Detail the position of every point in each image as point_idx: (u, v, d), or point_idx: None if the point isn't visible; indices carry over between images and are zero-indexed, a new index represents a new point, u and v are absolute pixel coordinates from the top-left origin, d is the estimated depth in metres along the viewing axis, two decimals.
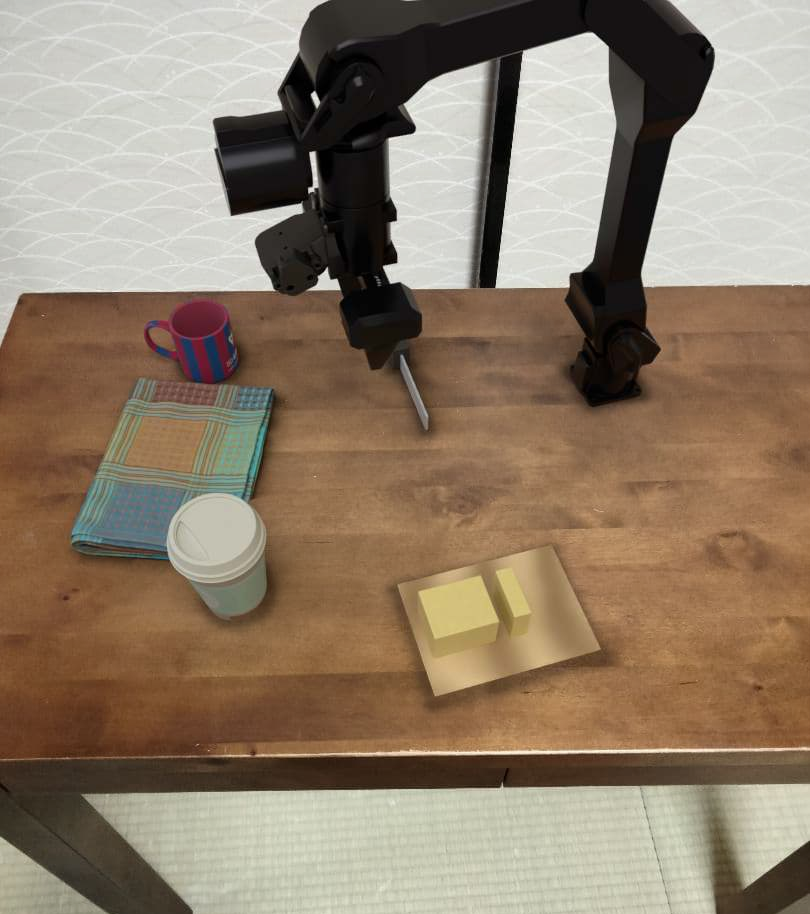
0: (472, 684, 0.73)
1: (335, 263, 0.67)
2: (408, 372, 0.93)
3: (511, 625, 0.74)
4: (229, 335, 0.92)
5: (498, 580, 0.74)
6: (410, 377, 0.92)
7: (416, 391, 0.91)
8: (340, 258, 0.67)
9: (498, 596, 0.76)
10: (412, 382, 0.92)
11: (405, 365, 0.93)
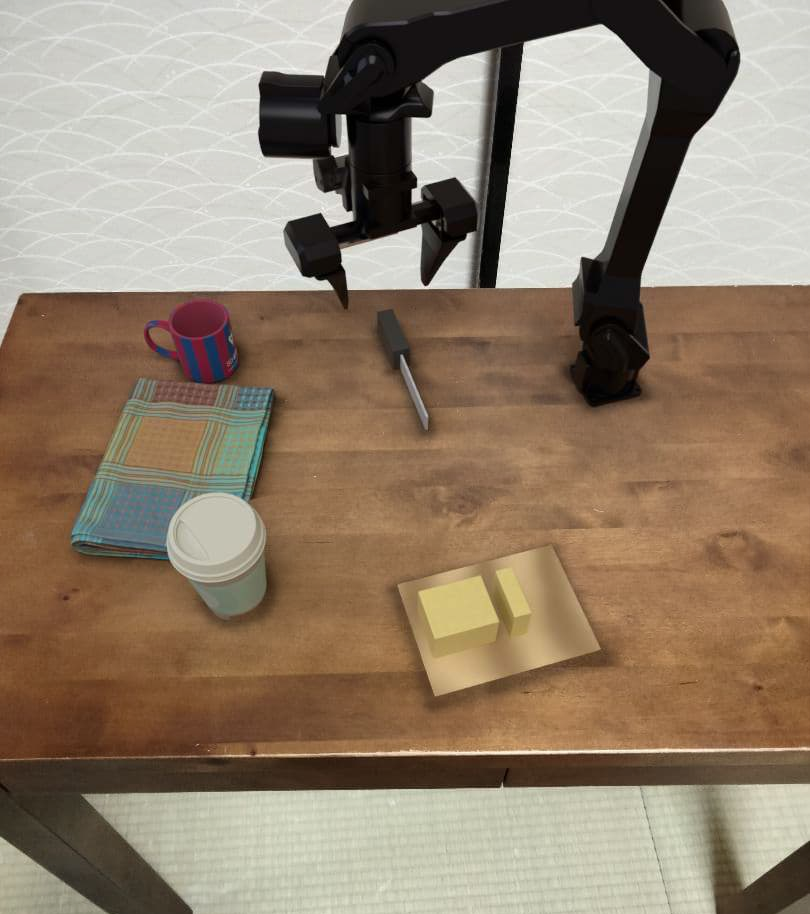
0: (472, 684, 0.73)
1: (343, 194, 0.78)
2: (408, 372, 0.93)
3: (511, 625, 0.74)
4: (229, 335, 0.92)
5: (498, 580, 0.74)
6: (410, 377, 0.92)
7: (416, 391, 0.91)
8: (344, 193, 0.77)
9: (498, 596, 0.76)
10: (412, 382, 0.92)
11: (405, 365, 0.93)
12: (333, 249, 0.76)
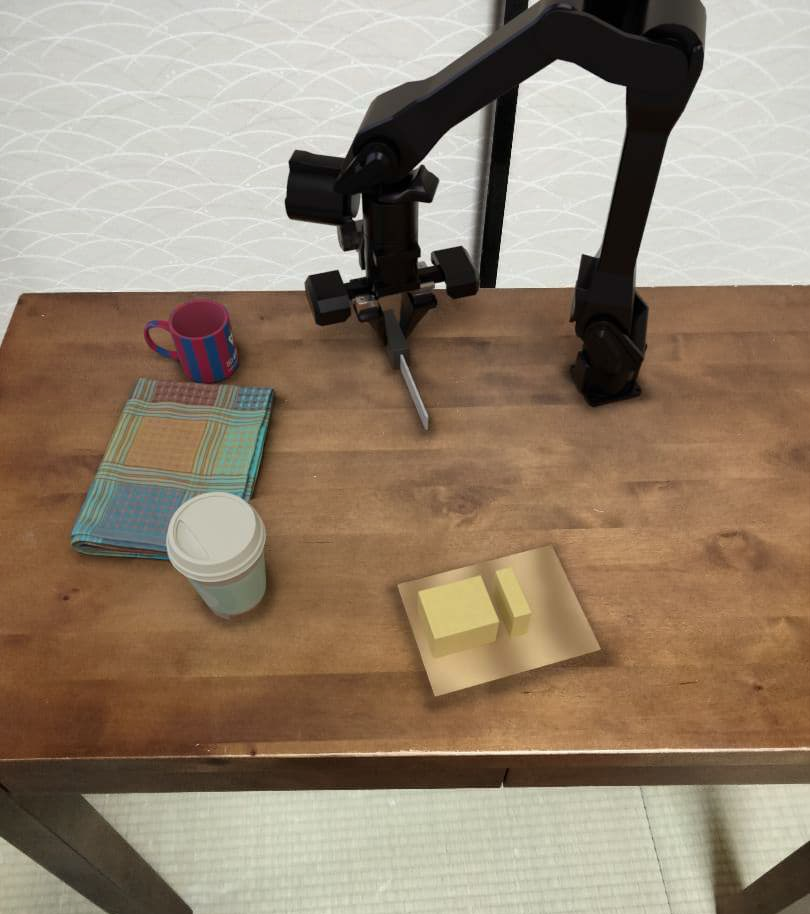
0: (472, 684, 0.73)
1: (359, 255, 0.89)
2: (408, 372, 0.93)
3: (511, 625, 0.74)
4: (229, 335, 0.92)
5: (498, 580, 0.74)
6: (410, 377, 0.92)
7: (416, 391, 0.91)
8: (360, 254, 0.88)
9: (498, 596, 0.76)
10: (412, 382, 0.92)
11: (405, 365, 0.93)
12: (344, 304, 0.87)
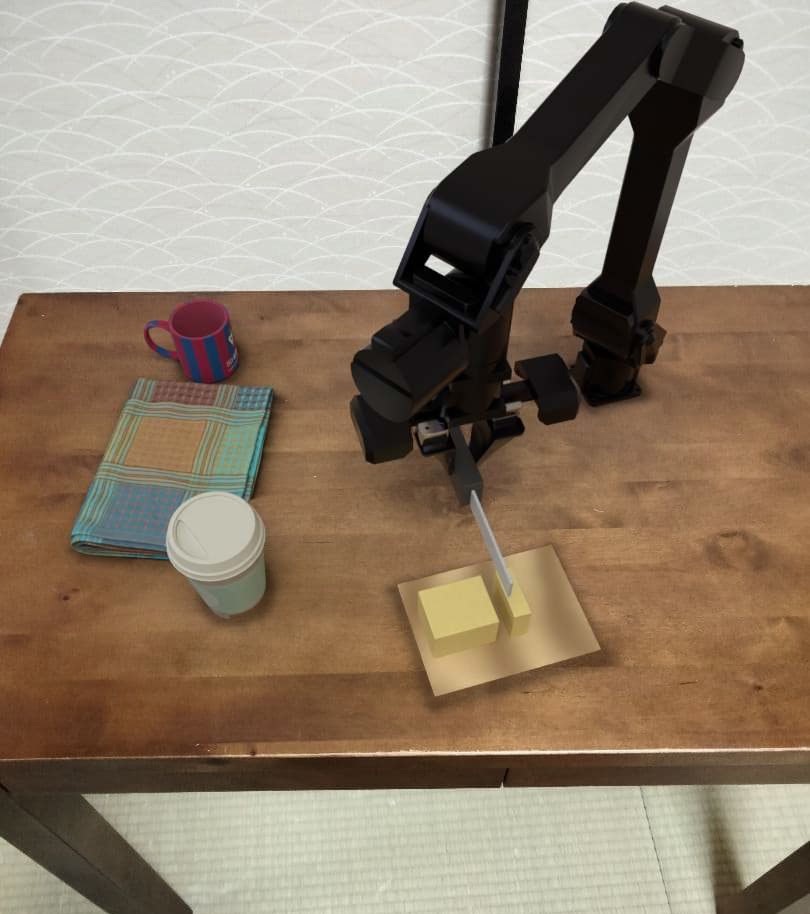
0: (472, 684, 0.73)
1: None
2: (483, 516, 0.71)
3: (511, 625, 0.74)
4: (229, 335, 0.92)
5: (498, 580, 0.74)
6: (486, 524, 0.70)
7: (495, 545, 0.69)
8: None
9: (498, 596, 0.76)
10: (489, 531, 0.70)
11: (479, 506, 0.71)
12: (404, 437, 0.65)
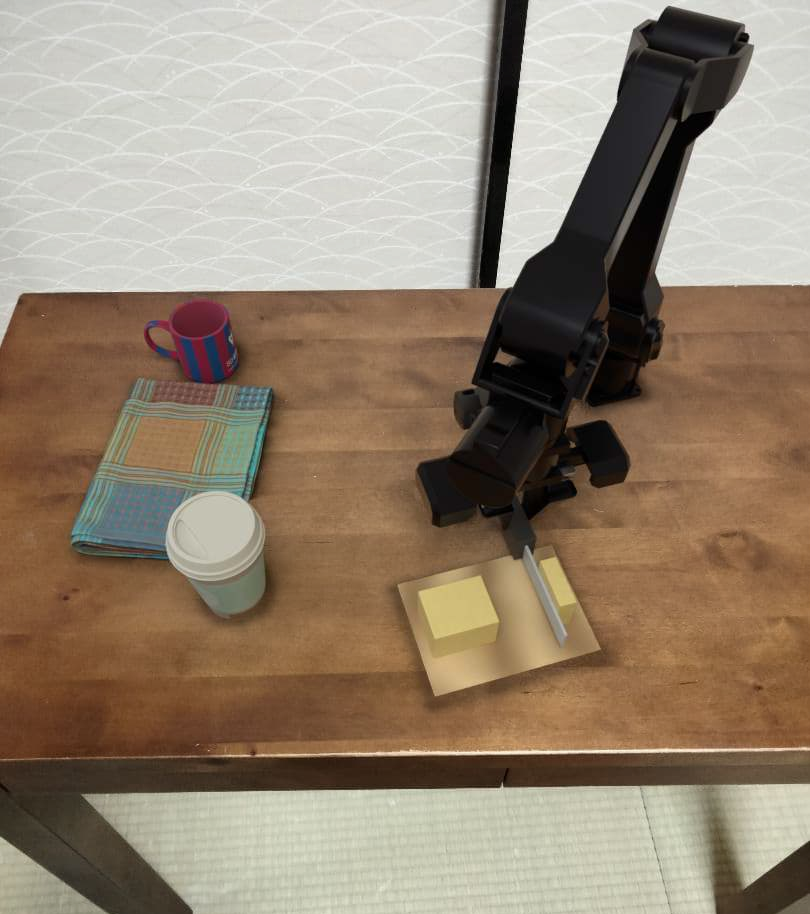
0: (472, 684, 0.73)
1: None
2: (537, 571, 0.76)
3: None
4: (229, 335, 0.92)
5: (543, 570, 0.75)
6: (540, 578, 0.75)
7: (549, 598, 0.74)
8: None
9: None
10: (543, 585, 0.75)
11: (532, 560, 0.77)
12: (469, 503, 0.70)
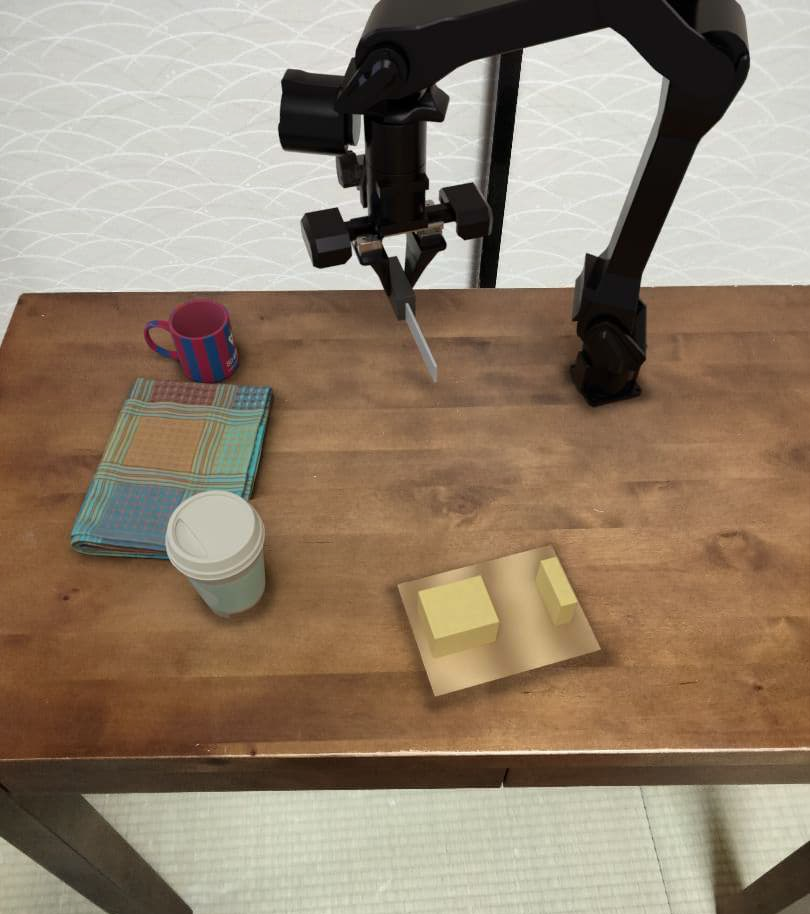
0: (472, 684, 0.73)
1: (360, 190, 0.81)
2: (414, 321, 0.85)
3: (557, 614, 0.74)
4: (229, 335, 0.92)
5: (543, 570, 0.75)
6: (417, 326, 0.84)
7: (423, 340, 0.83)
8: (361, 189, 0.80)
9: (542, 586, 0.76)
10: (419, 331, 0.84)
11: (411, 314, 0.85)
12: (344, 243, 0.79)
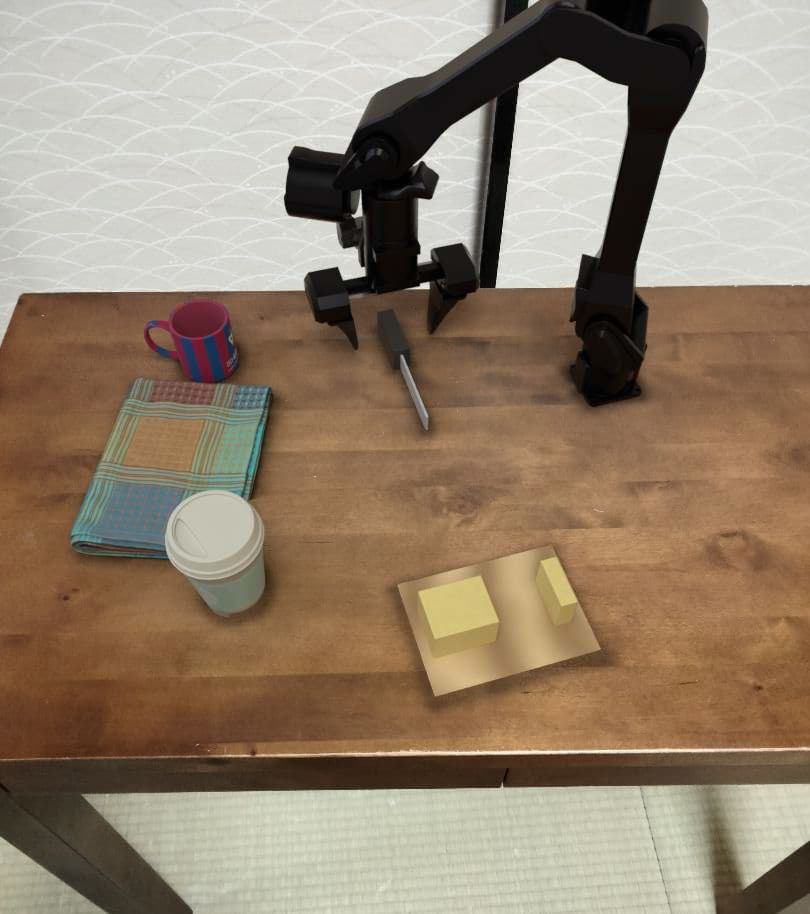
0: (472, 684, 0.73)
1: (359, 252, 0.89)
2: (408, 372, 0.93)
3: (557, 614, 0.74)
4: (229, 335, 0.92)
5: (543, 570, 0.75)
6: (410, 377, 0.92)
7: (416, 391, 0.91)
8: (359, 251, 0.88)
9: (542, 586, 0.76)
10: (412, 382, 0.92)
11: (405, 365, 0.93)
12: (343, 301, 0.87)
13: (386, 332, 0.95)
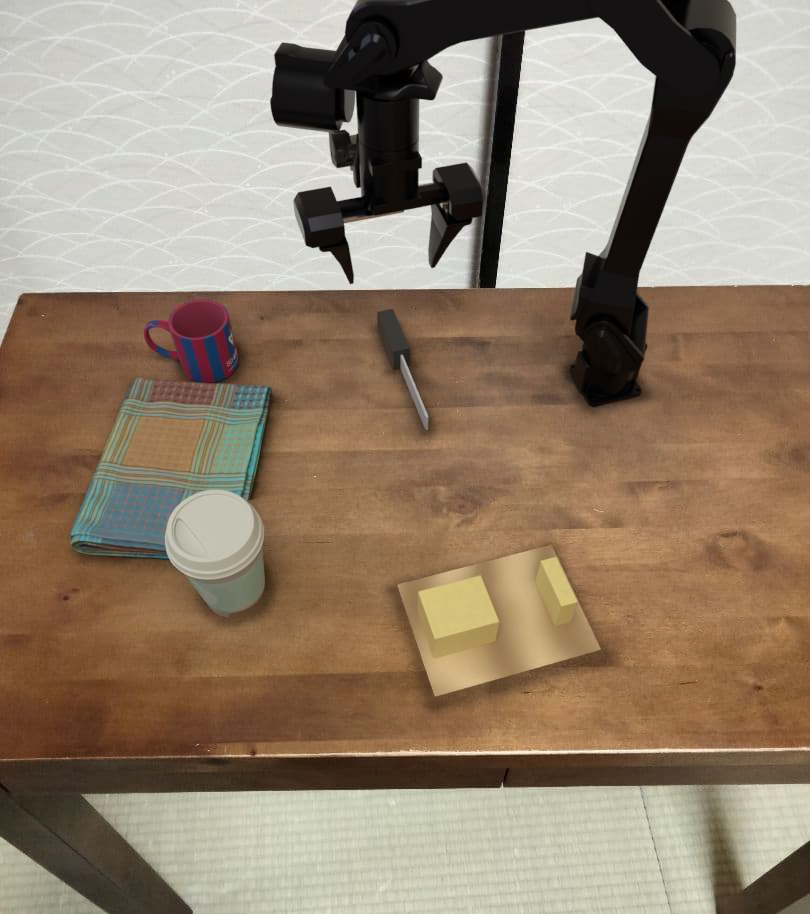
0: (472, 684, 0.73)
1: (354, 170, 0.81)
2: (408, 372, 0.93)
3: (557, 614, 0.74)
4: (229, 335, 0.92)
5: (543, 570, 0.75)
6: (410, 377, 0.92)
7: (416, 391, 0.91)
8: (355, 169, 0.80)
9: (542, 586, 0.76)
10: (412, 382, 0.92)
11: (405, 365, 0.93)
12: (337, 222, 0.79)
13: (386, 332, 0.95)
